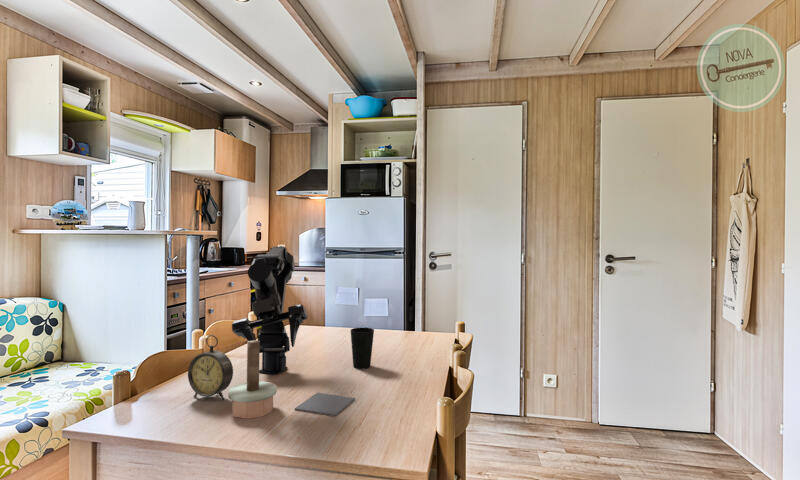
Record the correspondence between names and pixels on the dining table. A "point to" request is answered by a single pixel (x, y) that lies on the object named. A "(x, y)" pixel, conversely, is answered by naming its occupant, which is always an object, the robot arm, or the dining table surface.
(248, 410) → the bowl
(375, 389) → the dining table surface
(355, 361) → the cup
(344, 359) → the dining table surface
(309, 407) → the mat
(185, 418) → the dining table surface
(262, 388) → the wooden peg on disc
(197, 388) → the alarm clock
